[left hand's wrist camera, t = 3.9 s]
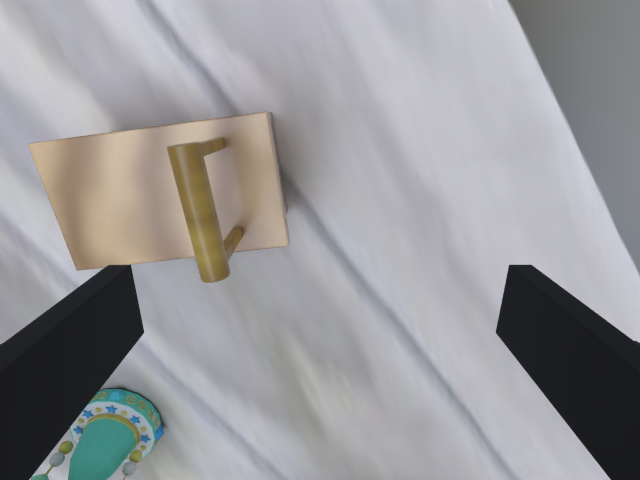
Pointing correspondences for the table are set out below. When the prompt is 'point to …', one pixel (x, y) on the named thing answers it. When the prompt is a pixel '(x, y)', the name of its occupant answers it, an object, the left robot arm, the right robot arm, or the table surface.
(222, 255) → the cabinet door
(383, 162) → the table surface
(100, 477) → the decorative hourglass
